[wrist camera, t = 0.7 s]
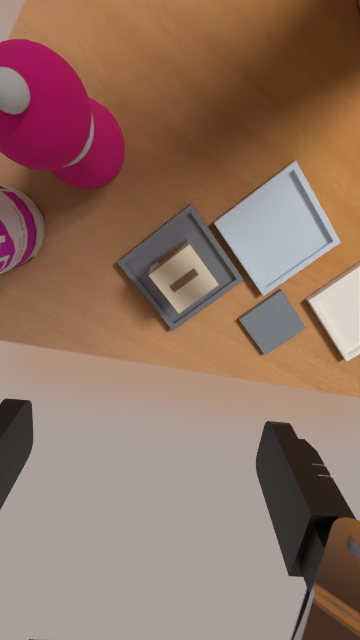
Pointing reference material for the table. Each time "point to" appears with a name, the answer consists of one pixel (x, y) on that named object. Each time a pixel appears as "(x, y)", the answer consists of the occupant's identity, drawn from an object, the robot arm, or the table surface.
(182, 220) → the tray charcoal
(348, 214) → the table surface
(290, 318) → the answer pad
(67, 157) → the pepper mill
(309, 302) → the tray cream
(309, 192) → the tray bluegrey
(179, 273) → the beige cube
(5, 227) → the supplement can
